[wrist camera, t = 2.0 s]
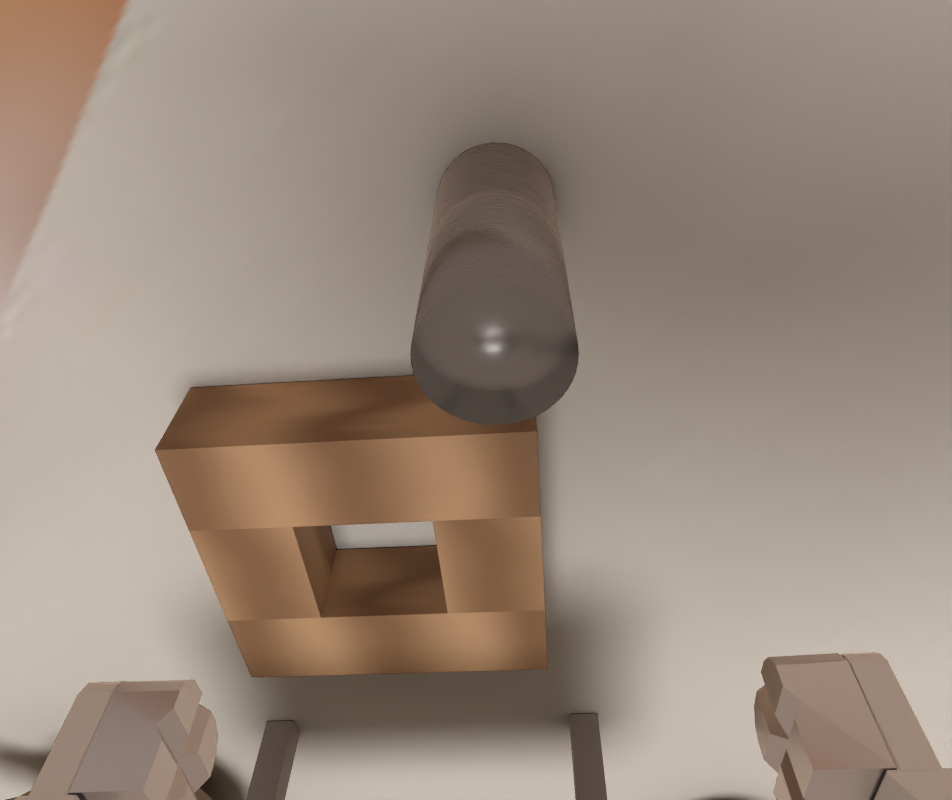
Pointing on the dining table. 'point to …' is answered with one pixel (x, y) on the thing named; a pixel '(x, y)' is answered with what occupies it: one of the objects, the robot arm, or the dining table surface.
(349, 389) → the socket plate
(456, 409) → the peg
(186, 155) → the dining table surface
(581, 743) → the pale green platform
